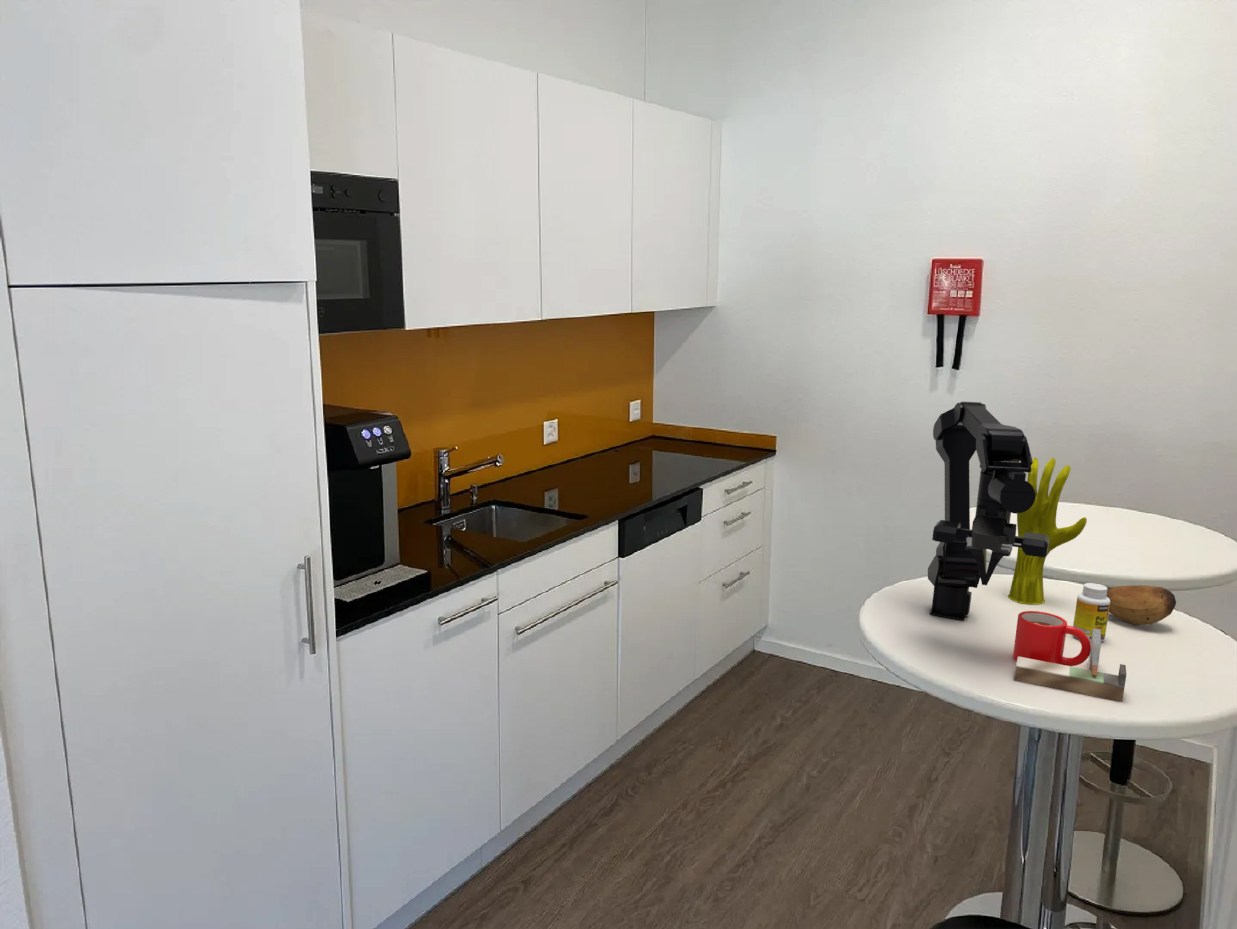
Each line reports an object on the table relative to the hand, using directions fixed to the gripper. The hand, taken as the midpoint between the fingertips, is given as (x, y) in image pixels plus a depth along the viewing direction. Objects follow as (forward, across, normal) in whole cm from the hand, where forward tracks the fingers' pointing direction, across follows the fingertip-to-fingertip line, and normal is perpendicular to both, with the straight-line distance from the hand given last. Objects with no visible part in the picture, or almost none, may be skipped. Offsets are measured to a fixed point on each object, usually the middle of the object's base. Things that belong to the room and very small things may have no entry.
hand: (984, 584), depth 170 cm
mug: (+12, +12, -1) cm, 17 cm away
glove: (+12, +8, +34) cm, 37 cm away
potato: (+12, +26, +30) cm, 42 cm away
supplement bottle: (+12, +18, +16) cm, 27 cm away
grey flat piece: (+12, +19, -4) cm, 22 cm away
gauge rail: (+12, +15, -10) cm, 21 cm away
